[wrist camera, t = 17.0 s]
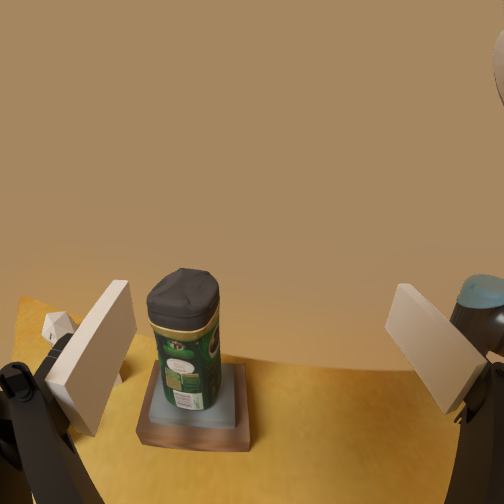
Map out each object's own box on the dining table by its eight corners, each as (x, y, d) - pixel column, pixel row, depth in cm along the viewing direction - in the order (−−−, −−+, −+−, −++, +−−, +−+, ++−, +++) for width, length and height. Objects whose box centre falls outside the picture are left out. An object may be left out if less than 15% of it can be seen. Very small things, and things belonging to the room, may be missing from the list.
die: (45, 343, 49) (30, 330, 41) (61, 313, 54) (49, 297, 47) (72, 360, 50) (58, 351, 42) (87, 330, 55) (77, 316, 47)
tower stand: (243, 379, 48) (245, 355, 46) (248, 451, 33) (250, 432, 31) (158, 375, 47) (153, 351, 45) (142, 444, 32) (132, 423, 30)
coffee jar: (179, 363, 43) (168, 259, 36) (226, 372, 42) (226, 266, 35) (157, 405, 34) (132, 294, 27) (211, 418, 33) (203, 306, 26)
